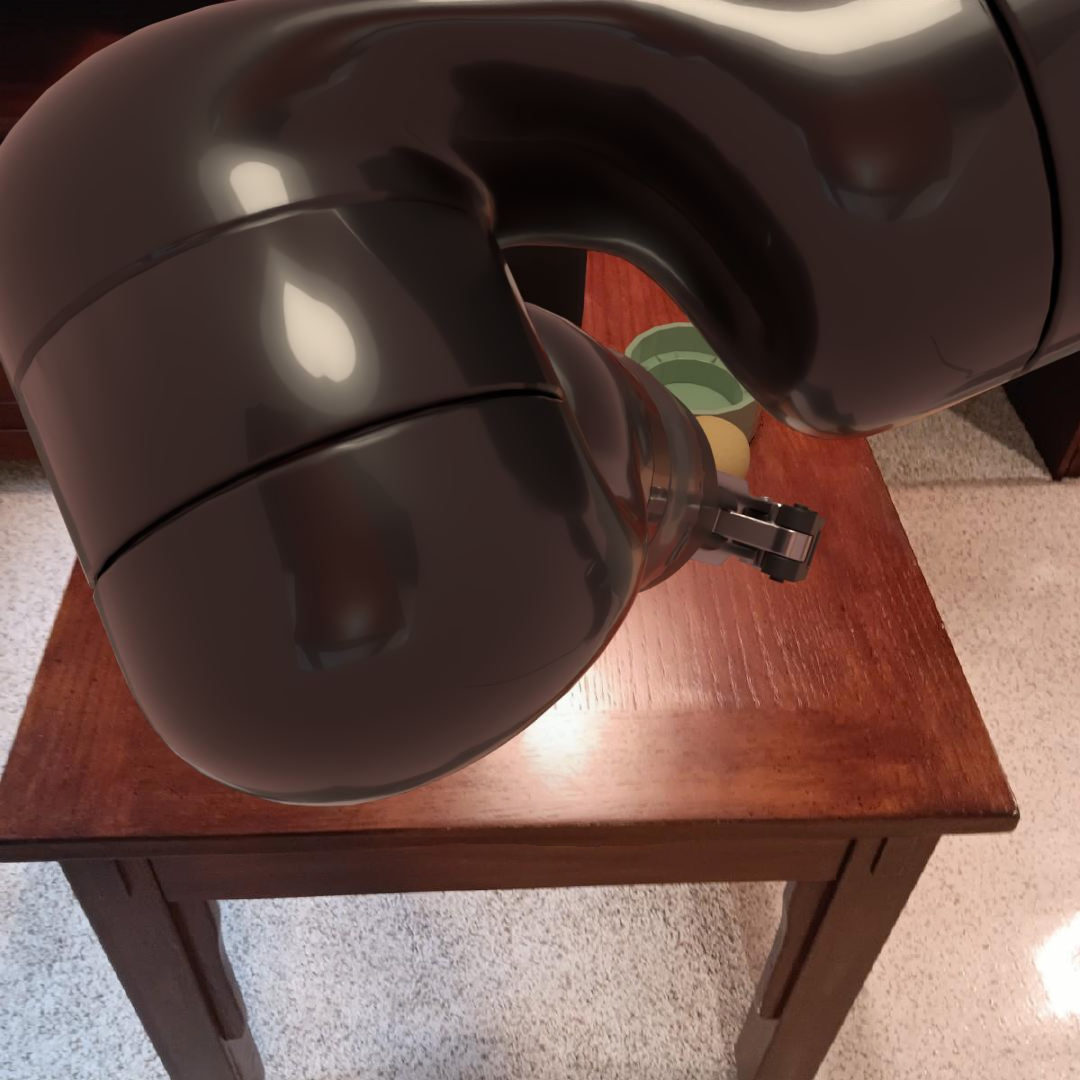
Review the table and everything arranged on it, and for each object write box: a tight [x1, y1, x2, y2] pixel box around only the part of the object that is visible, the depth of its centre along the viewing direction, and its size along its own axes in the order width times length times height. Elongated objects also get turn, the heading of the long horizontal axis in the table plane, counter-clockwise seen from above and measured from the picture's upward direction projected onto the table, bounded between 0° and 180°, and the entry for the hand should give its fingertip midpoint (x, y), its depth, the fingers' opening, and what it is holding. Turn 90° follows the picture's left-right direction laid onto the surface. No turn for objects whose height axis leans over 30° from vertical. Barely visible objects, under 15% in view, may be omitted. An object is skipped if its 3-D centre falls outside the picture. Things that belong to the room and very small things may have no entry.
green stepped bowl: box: [623, 321, 763, 444], centre depth 91 cm, size 12×12×6 cm
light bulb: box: [696, 415, 751, 479], centre depth 81 cm, size 6×6×10 cm
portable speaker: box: [501, 246, 589, 329], centre depth 90 cm, size 9×9×20 cm
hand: (658, 497), depth 47 cm, fingers open, 8 cm apart
